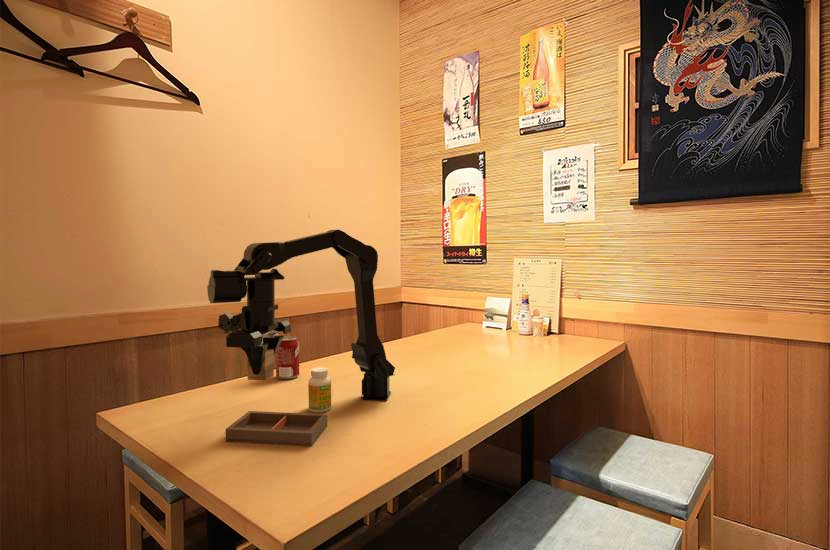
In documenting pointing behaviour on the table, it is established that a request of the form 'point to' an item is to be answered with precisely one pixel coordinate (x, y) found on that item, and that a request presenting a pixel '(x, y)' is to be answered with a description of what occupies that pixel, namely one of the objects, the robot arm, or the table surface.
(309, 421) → the tray
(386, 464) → the table surface
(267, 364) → the walnut block
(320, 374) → the supplement bottle
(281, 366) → the soda can
